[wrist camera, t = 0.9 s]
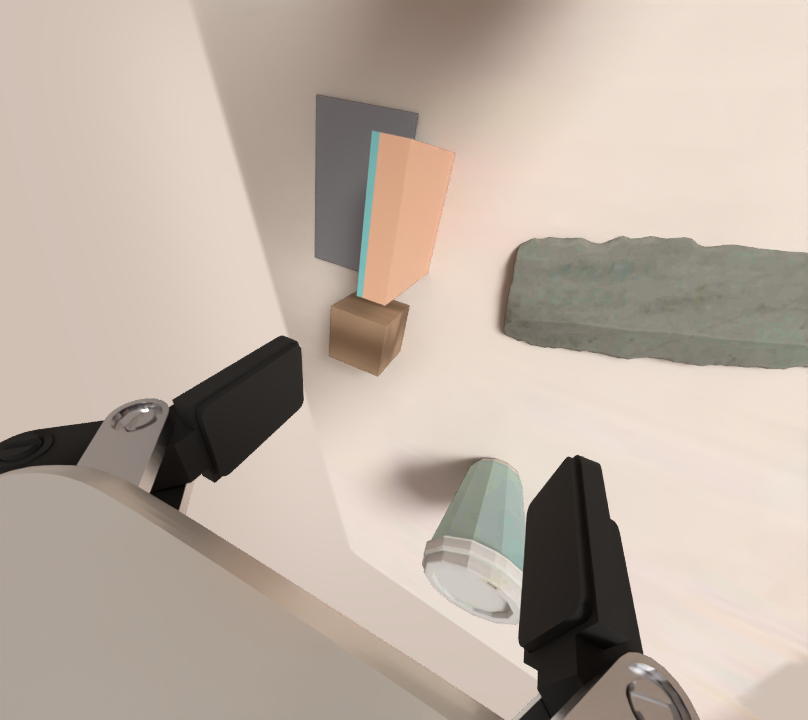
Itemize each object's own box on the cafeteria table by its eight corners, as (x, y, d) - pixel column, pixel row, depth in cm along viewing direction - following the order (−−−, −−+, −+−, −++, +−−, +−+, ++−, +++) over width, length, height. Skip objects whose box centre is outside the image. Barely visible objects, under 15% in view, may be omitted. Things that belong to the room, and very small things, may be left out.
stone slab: (516, 236, 27) (502, 341, 31) (514, 236, 24) (500, 350, 28) (886, 233, 19) (806, 375, 23) (935, 233, 17) (837, 391, 20)
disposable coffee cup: (508, 513, 42) (492, 644, 30) (440, 472, 43) (400, 582, 31) (555, 475, 36) (559, 622, 24) (475, 428, 37) (441, 545, 25)
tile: (428, 147, 25) (372, 130, 17) (455, 153, 24) (410, 138, 16) (406, 266, 30) (356, 295, 22) (428, 272, 30) (385, 305, 22)
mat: (318, 95, 26) (316, 94, 26) (418, 114, 24) (417, 113, 24) (316, 256, 34) (314, 256, 34) (391, 281, 32) (390, 281, 31)
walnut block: (361, 288, 34) (331, 306, 29) (409, 305, 32) (386, 326, 28) (356, 333, 37) (328, 356, 32) (400, 350, 36) (377, 376, 31)
